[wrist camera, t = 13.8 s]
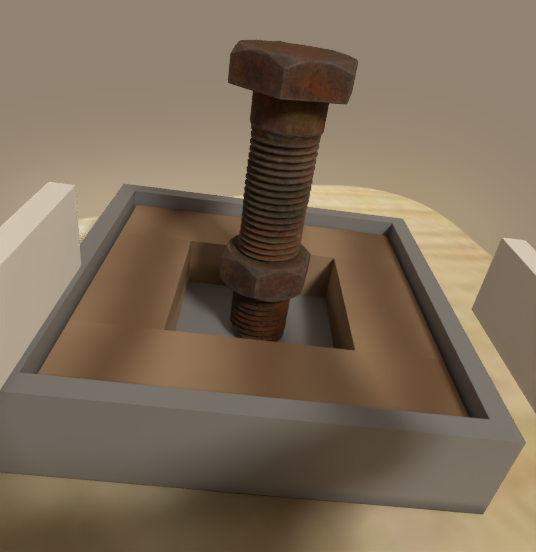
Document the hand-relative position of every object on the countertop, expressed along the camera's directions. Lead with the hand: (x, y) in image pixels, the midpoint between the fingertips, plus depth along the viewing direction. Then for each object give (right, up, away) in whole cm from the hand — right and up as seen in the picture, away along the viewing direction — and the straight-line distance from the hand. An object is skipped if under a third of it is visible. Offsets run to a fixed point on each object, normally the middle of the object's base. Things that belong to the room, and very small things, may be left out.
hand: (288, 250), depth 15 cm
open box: (-1, -5, +13) cm, 14 cm away
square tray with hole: (-1, -5, +13) cm, 14 cm away
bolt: (-1, -4, +13) cm, 14 cm away
